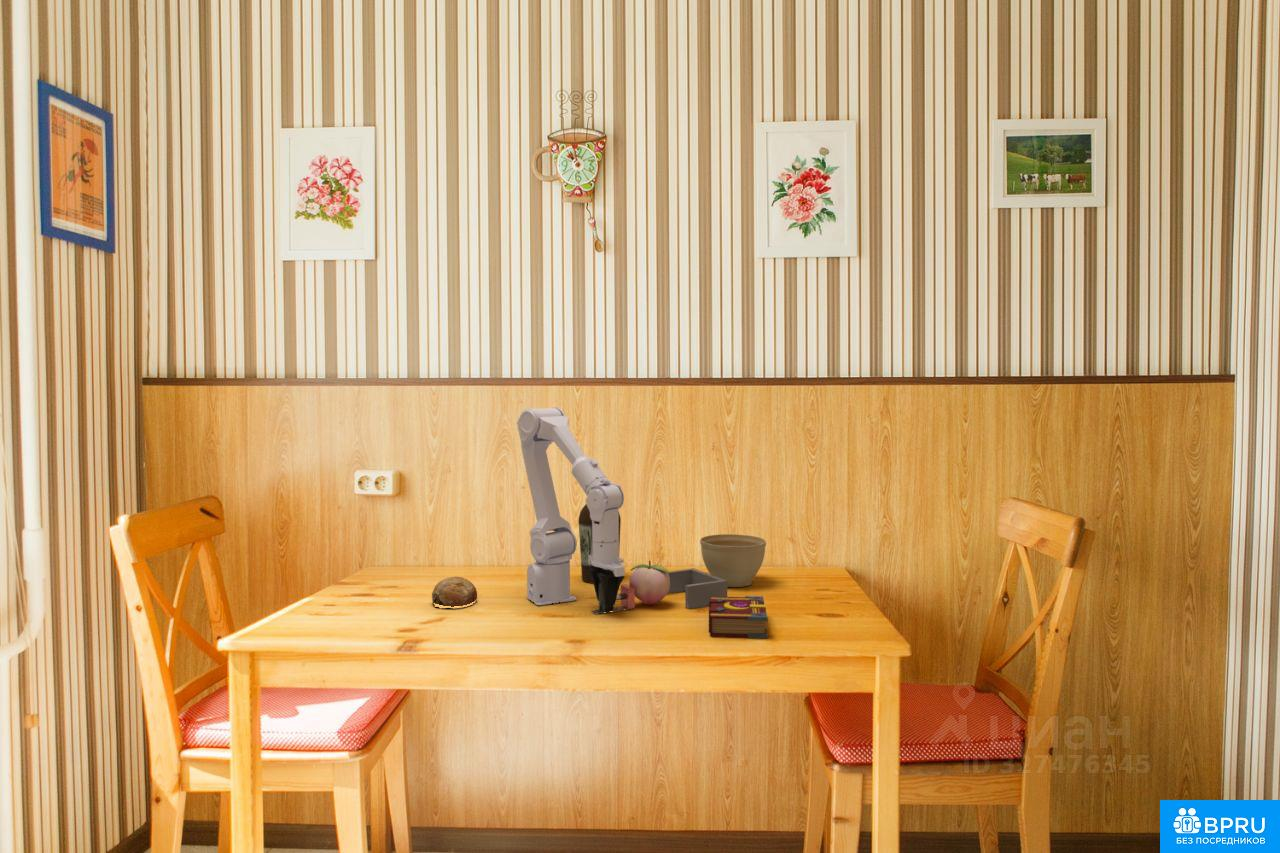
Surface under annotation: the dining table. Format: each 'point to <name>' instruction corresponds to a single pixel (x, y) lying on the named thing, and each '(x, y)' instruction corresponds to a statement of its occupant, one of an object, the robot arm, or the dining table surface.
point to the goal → (696, 586)
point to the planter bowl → (733, 557)
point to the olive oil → (587, 541)
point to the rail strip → (612, 610)
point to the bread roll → (454, 592)
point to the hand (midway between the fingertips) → (606, 602)
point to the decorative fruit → (650, 582)
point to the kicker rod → (619, 597)
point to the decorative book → (738, 616)
